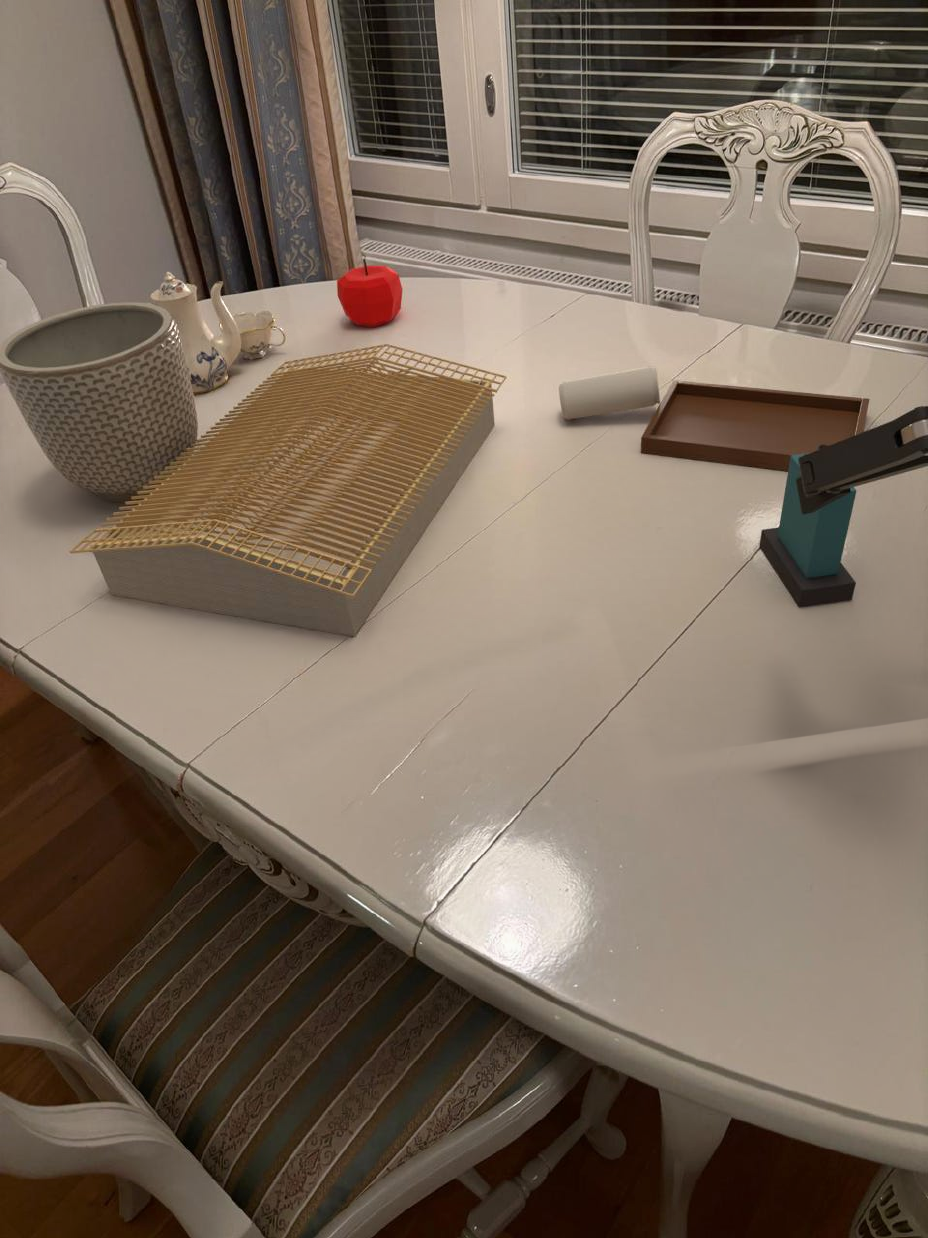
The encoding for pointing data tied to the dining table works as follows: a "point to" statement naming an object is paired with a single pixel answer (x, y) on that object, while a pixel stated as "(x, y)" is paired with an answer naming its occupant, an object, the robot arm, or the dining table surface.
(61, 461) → the planter
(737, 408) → the tray
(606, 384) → the beverage can
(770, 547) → the teal block on base
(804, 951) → the dining table surface
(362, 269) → the apple
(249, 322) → the chinaware
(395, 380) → the roof frame
